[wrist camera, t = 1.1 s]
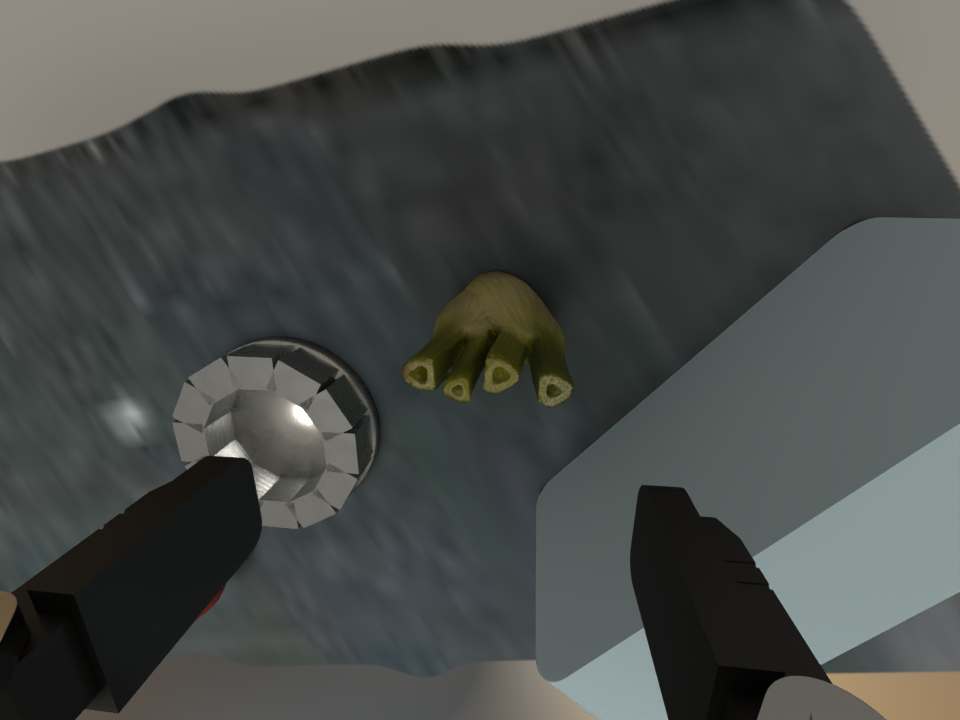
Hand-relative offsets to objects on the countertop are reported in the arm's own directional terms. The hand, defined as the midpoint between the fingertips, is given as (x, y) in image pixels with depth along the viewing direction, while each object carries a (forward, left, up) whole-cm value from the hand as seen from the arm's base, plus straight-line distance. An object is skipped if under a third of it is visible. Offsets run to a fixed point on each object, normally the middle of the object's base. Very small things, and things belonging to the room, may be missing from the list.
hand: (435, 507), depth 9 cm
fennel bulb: (0, 0, -18) cm, 18 cm away
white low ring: (+14, +8, -18) cm, 24 cm away
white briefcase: (-12, +5, -18) cm, 22 cm away
